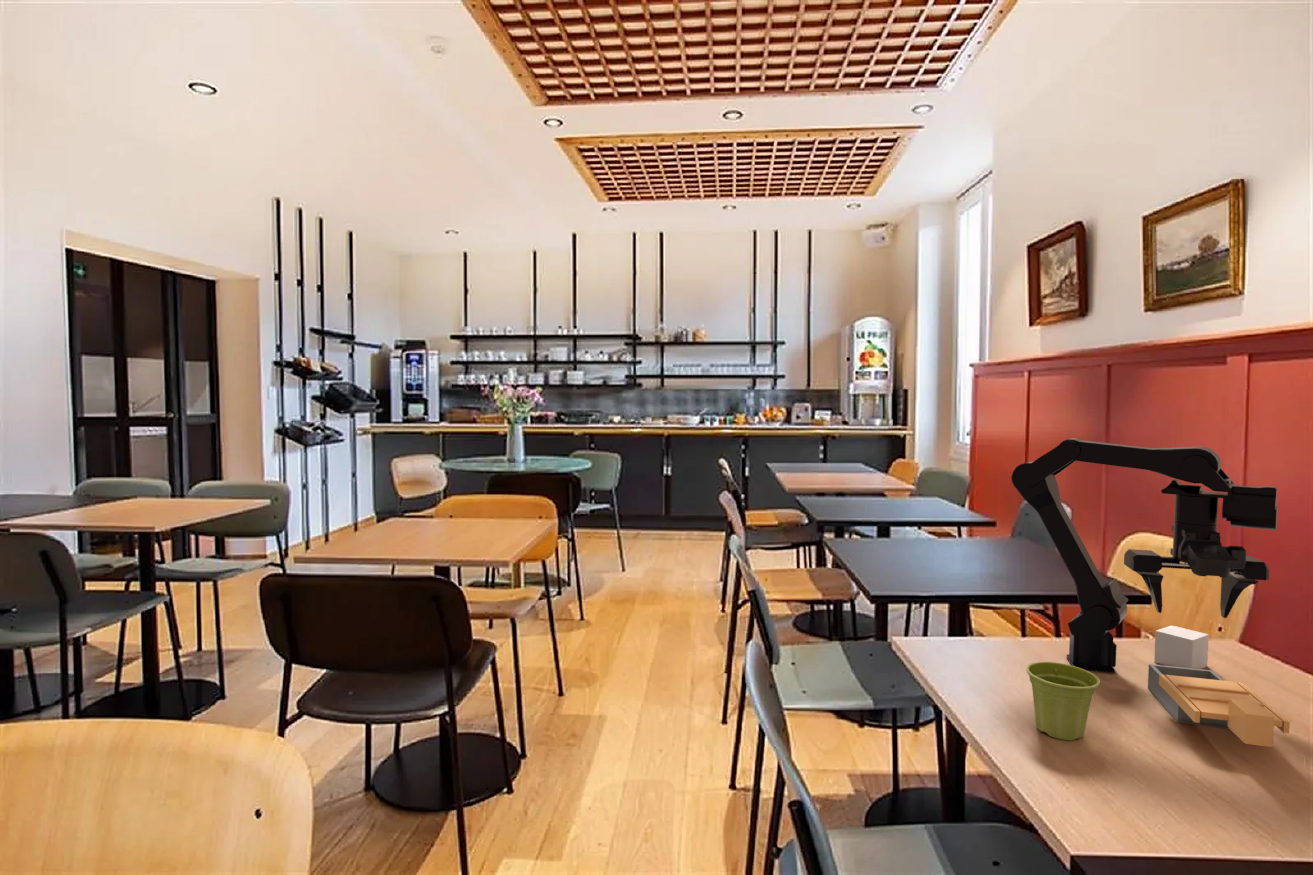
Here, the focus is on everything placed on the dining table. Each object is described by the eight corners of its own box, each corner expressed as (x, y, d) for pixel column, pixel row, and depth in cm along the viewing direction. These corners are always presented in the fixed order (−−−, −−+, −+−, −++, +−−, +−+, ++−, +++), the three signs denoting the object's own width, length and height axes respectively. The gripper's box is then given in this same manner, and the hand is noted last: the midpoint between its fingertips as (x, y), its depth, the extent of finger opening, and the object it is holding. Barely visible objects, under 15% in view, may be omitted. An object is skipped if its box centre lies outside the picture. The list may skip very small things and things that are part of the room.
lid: (1209, 739, 95) (1210, 709, 95) (1158, 684, 113) (1159, 659, 112) (1309, 751, 92) (1311, 721, 91) (1240, 693, 109) (1242, 667, 109)
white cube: (1154, 662, 132) (1155, 630, 131) (1170, 656, 135) (1171, 625, 135) (1191, 673, 127) (1193, 640, 126) (1207, 666, 130) (1208, 634, 129)
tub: (1177, 722, 108) (1178, 695, 107) (1147, 688, 120) (1148, 664, 120) (1249, 731, 105) (1251, 703, 105) (1211, 695, 117) (1212, 670, 117)
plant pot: (1088, 722, 108) (1090, 666, 107) (1105, 751, 99) (1107, 690, 98) (1019, 713, 111) (1021, 658, 110) (1030, 741, 102) (1032, 681, 101)
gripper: (1146, 528, 114) (1142, 624, 115) (1290, 535, 108) (1284, 636, 109) (1124, 516, 124) (1121, 604, 125) (1254, 522, 119) (1249, 614, 120)
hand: (1191, 614), depth 119 cm, fingers open, 9 cm apart
